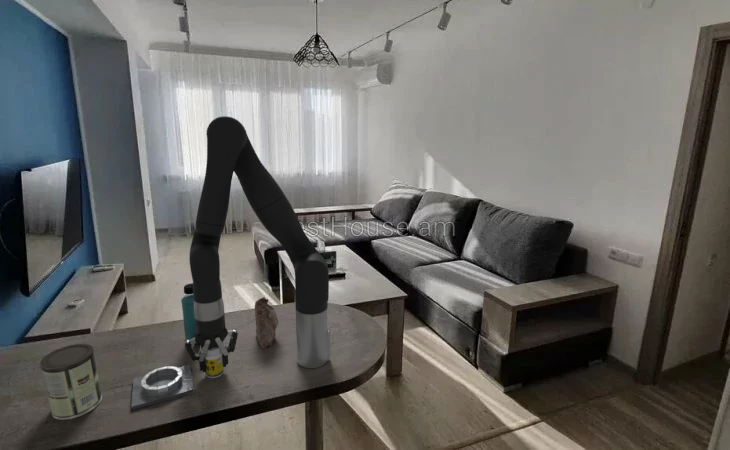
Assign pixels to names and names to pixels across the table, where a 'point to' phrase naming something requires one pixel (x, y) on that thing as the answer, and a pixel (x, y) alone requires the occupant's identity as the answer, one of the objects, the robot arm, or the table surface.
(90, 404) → the coffee can
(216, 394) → the table surface
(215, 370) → the supplement bottle
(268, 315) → the stone
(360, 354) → the table surface
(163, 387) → the ring base
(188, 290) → the beverage bottle
